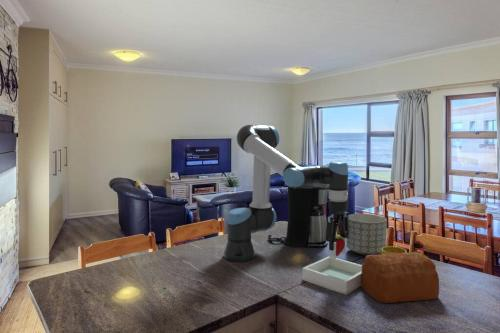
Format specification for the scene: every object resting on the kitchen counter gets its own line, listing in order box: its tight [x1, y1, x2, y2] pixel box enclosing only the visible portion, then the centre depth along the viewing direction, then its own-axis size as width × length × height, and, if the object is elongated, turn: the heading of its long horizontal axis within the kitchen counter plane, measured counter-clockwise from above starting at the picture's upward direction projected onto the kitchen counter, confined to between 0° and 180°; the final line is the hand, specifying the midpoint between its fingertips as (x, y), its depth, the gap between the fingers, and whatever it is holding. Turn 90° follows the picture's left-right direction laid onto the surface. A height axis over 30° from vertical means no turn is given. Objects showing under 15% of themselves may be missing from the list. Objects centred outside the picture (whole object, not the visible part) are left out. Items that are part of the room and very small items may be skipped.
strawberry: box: [335, 231, 345, 257], centre depth 144 cm, size 6×8×10 cm
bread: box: [360, 251, 440, 304], centre depth 133 cm, size 17×24×15 cm
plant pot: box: [380, 245, 408, 254], centre depth 153 cm, size 10×10×10 cm
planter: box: [346, 213, 388, 257], centre depth 177 cm, size 19×19×18 cm
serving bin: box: [302, 255, 363, 296], centre depth 145 cm, size 20×20×5 cm
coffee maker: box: [267, 184, 329, 248], centre depth 194 cm, size 23×32×34 cm
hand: (337, 255), depth 144 cm, fingers closed on strawberry, 7 cm apart
